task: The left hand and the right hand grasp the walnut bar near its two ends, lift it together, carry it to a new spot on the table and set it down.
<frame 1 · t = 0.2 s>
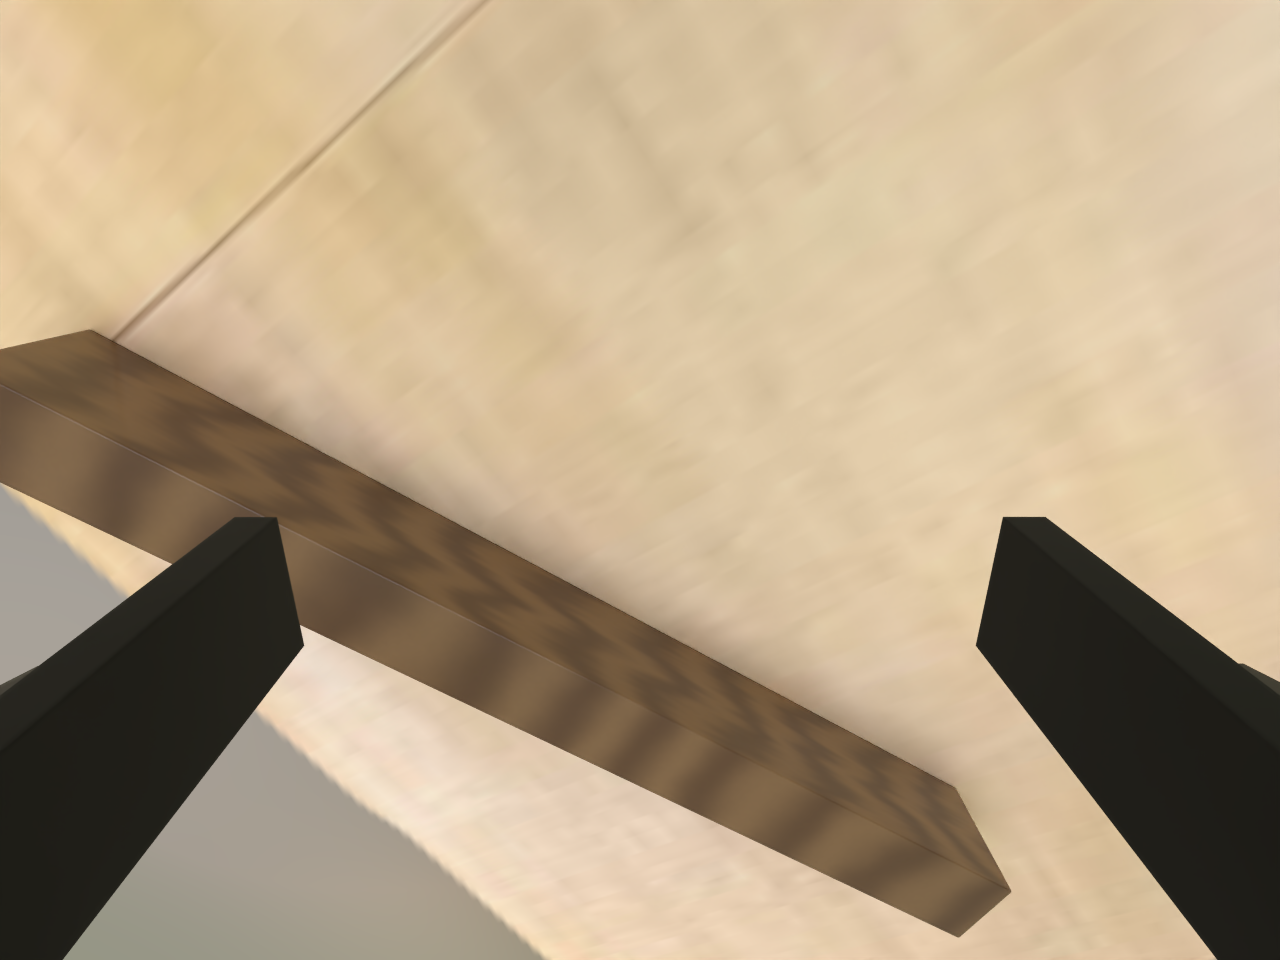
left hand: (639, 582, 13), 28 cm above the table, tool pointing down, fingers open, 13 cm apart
bar: (563, 618, 45), on the table
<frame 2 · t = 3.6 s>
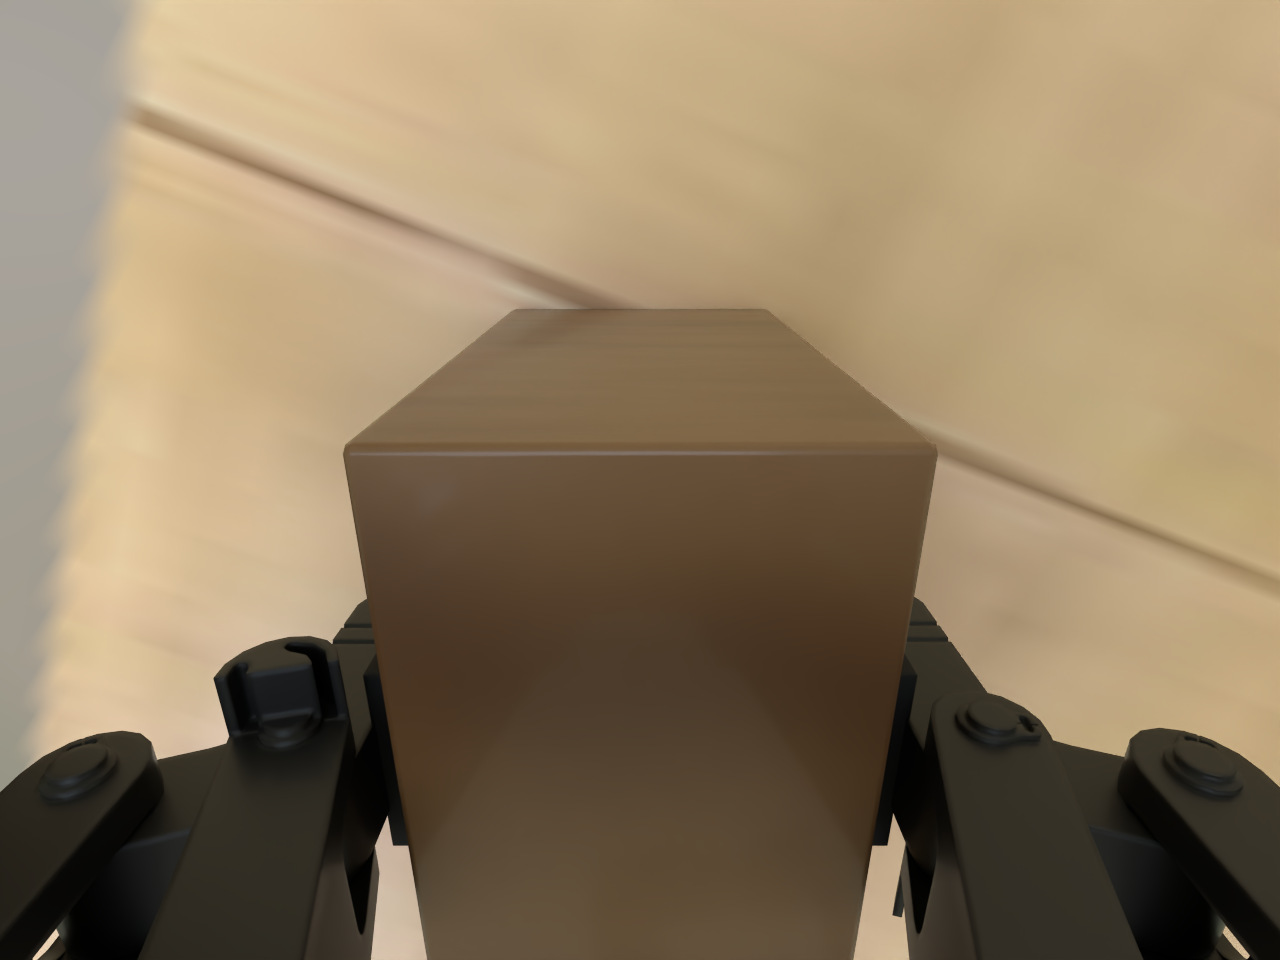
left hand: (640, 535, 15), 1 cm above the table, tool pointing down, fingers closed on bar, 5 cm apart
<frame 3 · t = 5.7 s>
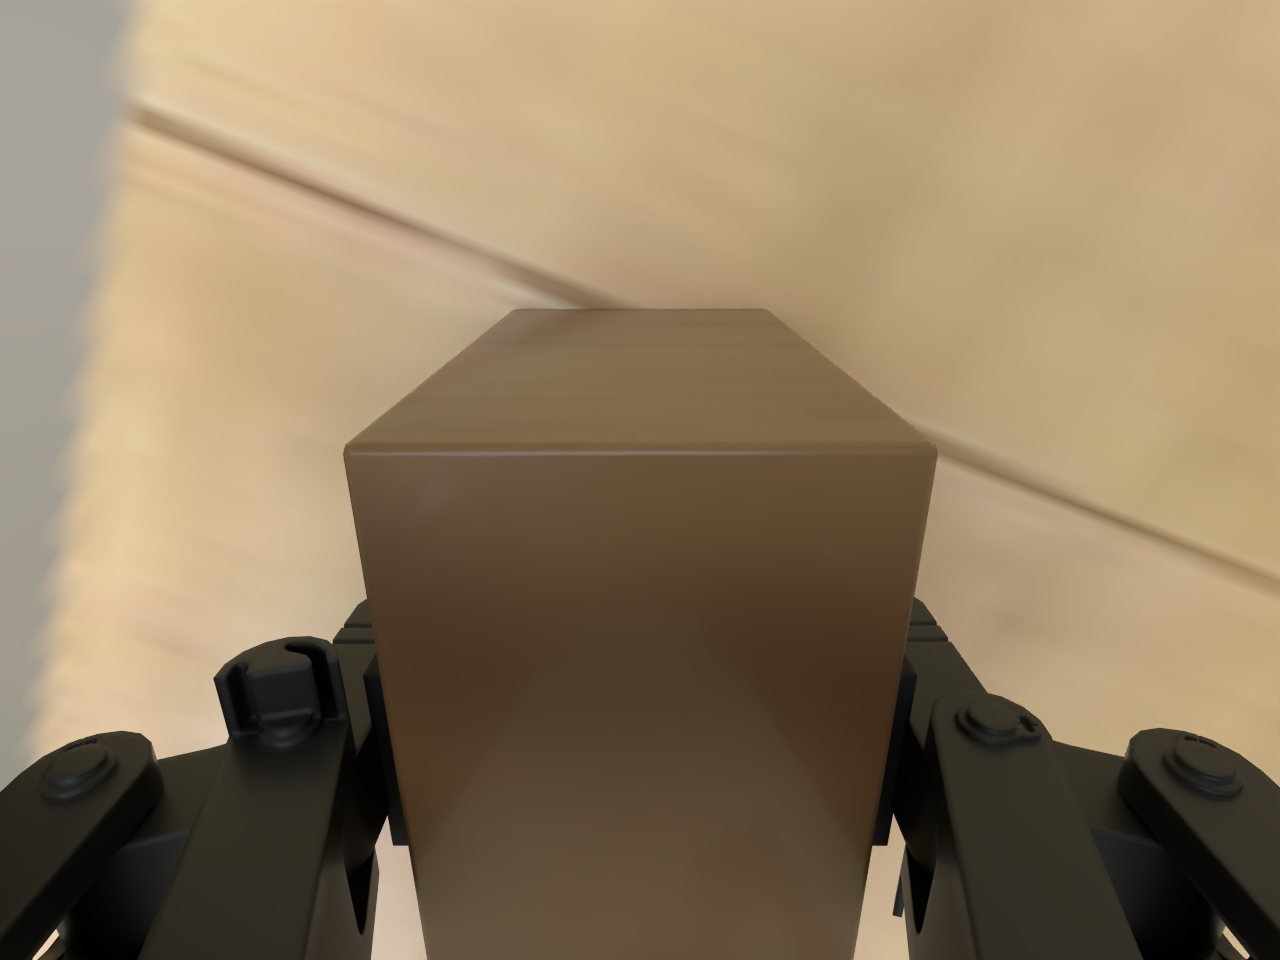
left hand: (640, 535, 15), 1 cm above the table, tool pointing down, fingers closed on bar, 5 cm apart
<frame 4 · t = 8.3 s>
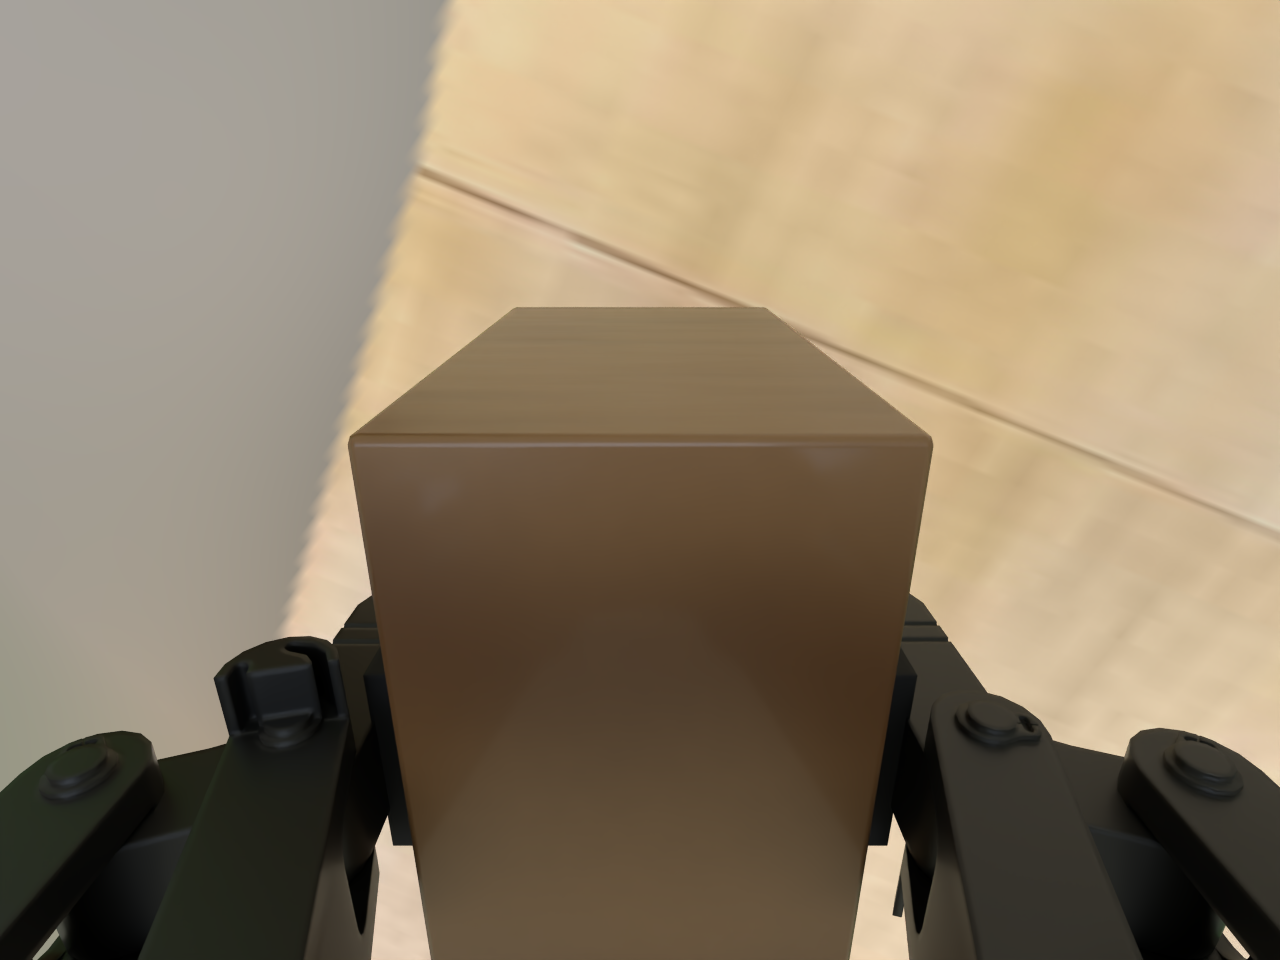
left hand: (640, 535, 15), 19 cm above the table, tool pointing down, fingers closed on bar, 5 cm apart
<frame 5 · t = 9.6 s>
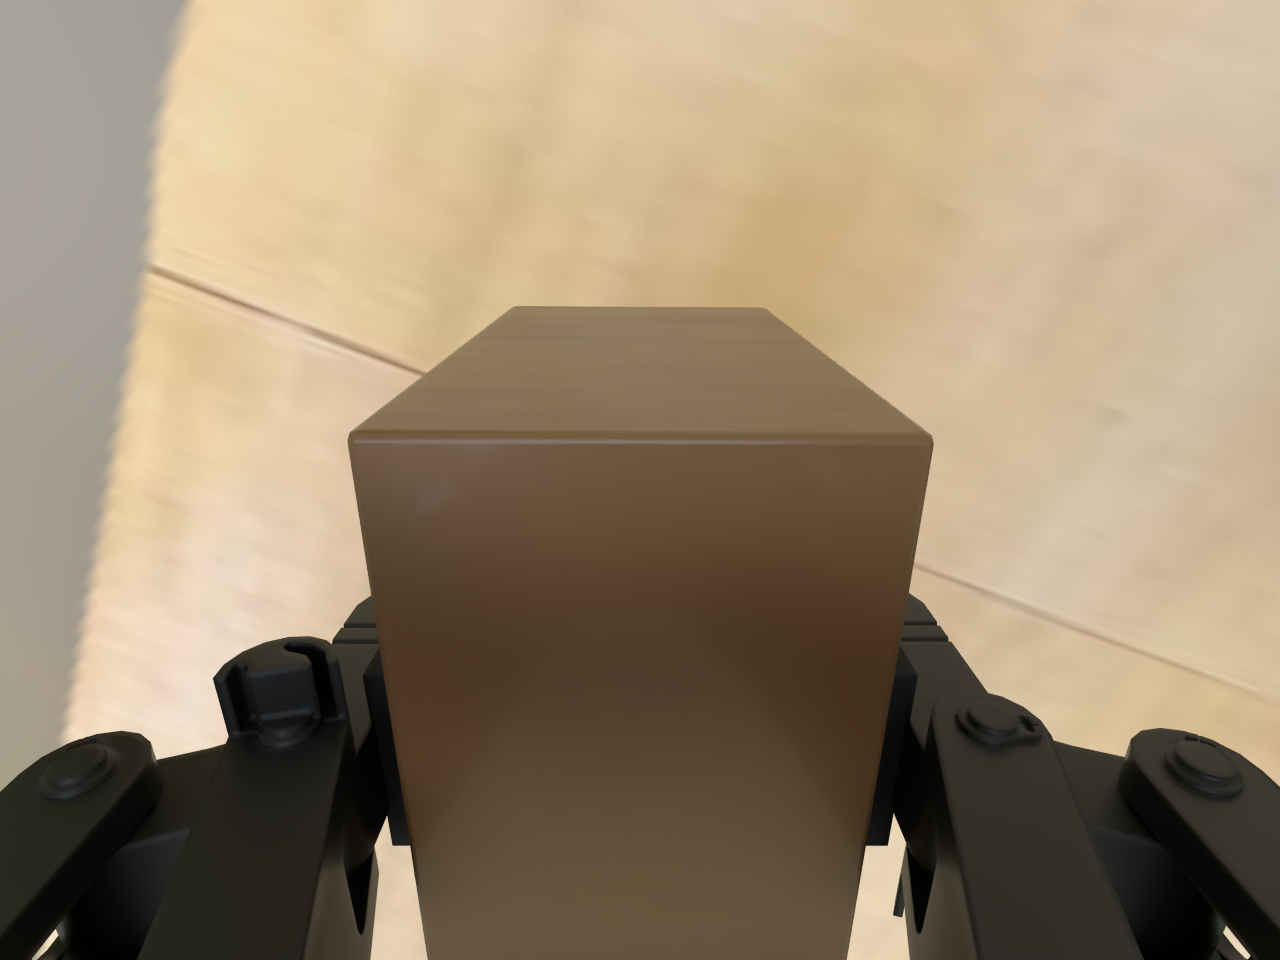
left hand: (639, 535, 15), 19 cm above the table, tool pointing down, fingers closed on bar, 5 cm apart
when the left hand's fingers open (2 cm above the table, at t = 13.2 s): bar drops 1 cm, on the table.
when the right hand's fingers open (5 cm above the table, at t = 13.4 s): bar stays where it is, on the table.
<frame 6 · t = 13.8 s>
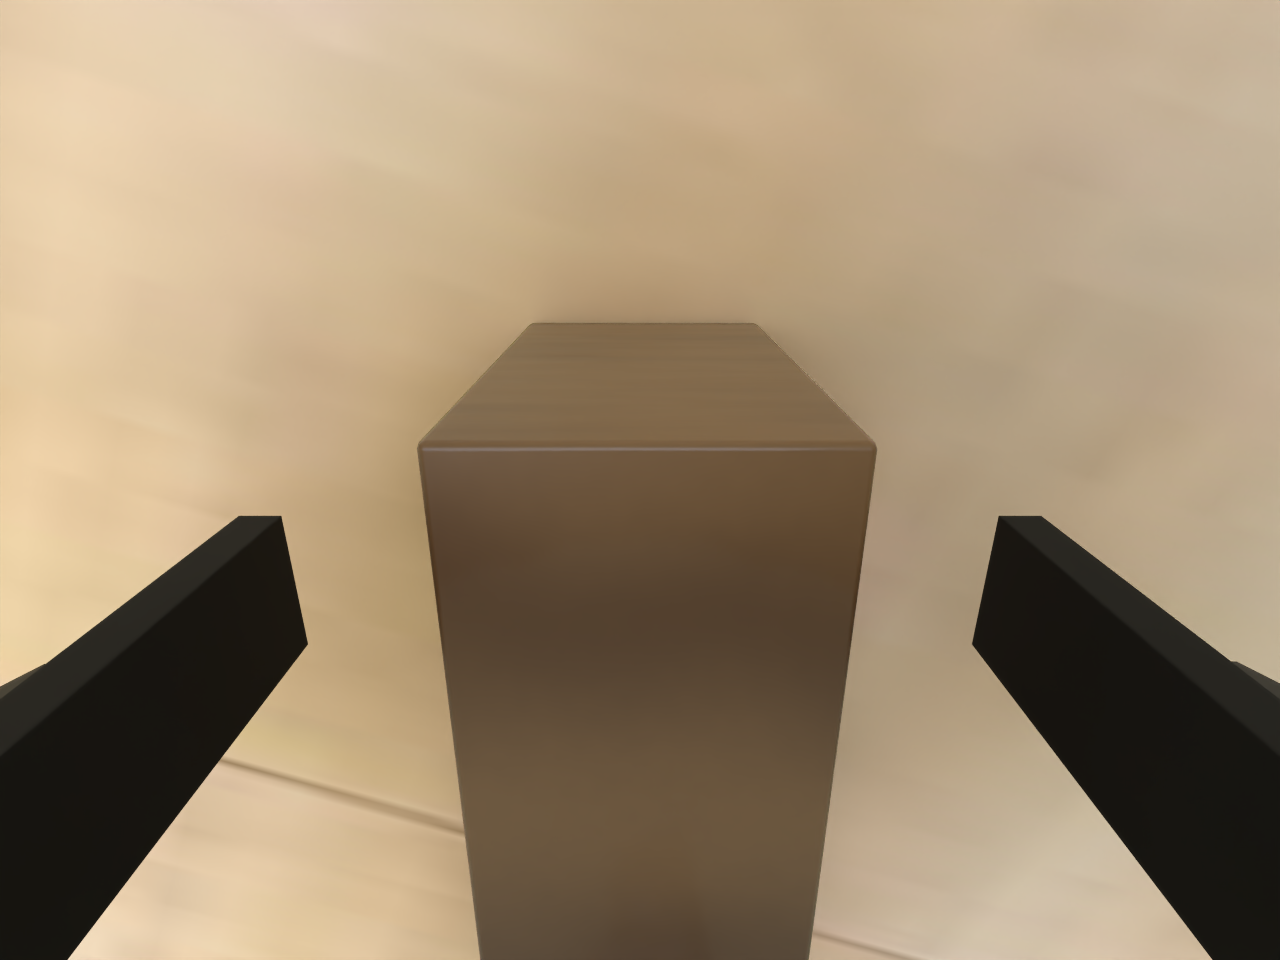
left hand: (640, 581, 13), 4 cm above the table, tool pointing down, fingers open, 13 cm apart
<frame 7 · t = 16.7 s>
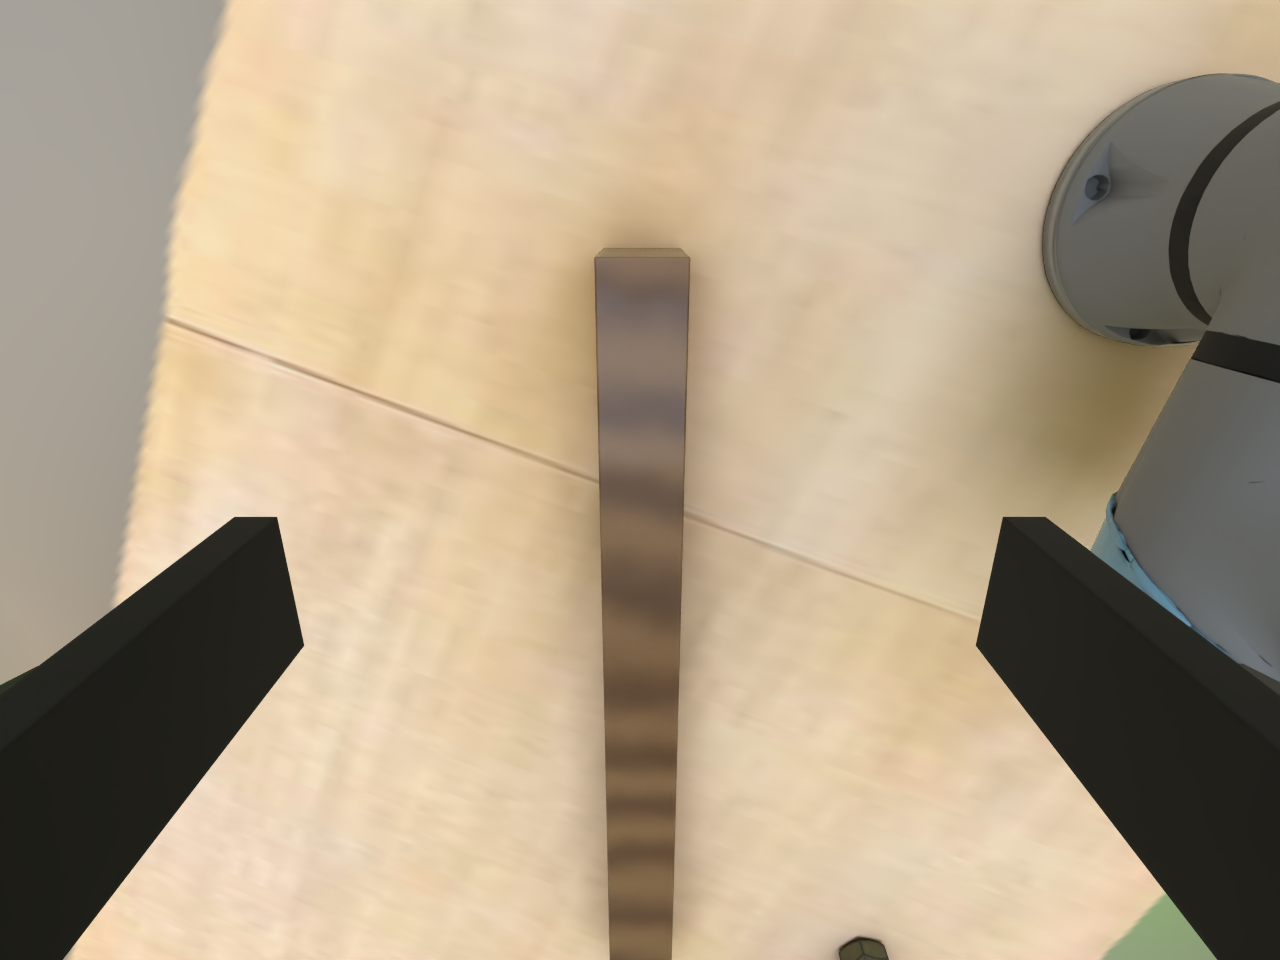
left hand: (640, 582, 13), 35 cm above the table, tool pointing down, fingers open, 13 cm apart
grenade: (868, 959, 68), on the table
bar: (641, 666, 55), on the table
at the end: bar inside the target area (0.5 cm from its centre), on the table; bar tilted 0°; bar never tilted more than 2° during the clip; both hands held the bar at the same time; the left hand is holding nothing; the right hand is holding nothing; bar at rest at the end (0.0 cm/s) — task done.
